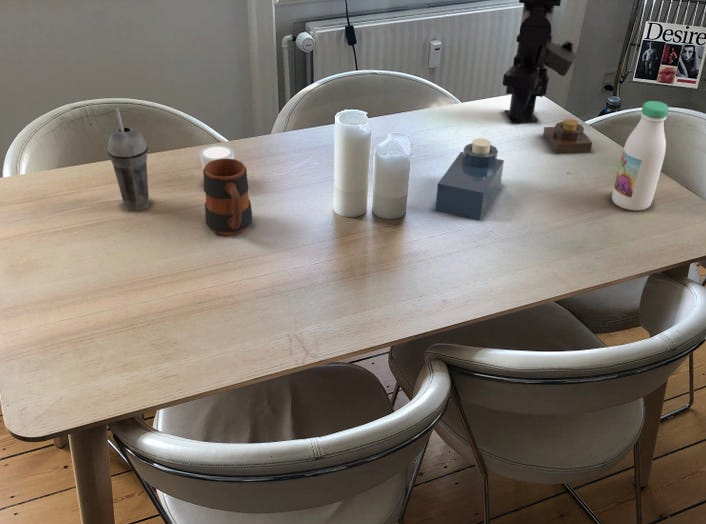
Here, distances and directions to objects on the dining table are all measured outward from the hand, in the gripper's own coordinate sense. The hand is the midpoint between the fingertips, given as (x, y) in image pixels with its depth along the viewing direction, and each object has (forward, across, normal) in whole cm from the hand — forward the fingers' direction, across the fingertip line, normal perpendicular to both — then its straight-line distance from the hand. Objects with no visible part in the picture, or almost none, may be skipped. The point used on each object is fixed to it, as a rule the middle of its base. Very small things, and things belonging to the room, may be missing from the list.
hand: (523, 107), depth 171 cm
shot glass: (+12, -36, +52) cm, 64 cm away
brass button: (+8, +13, -8) cm, 18 cm away
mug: (+12, -50, +41) cm, 66 cm away
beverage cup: (+12, -50, +62) cm, 81 cm away
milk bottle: (+12, -8, -26) cm, 30 cm away
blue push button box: (+12, -20, +4) cm, 24 cm away
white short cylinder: (+4, -15, +4) cm, 16 cm away
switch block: (+12, +13, -8) cm, 20 cm away
